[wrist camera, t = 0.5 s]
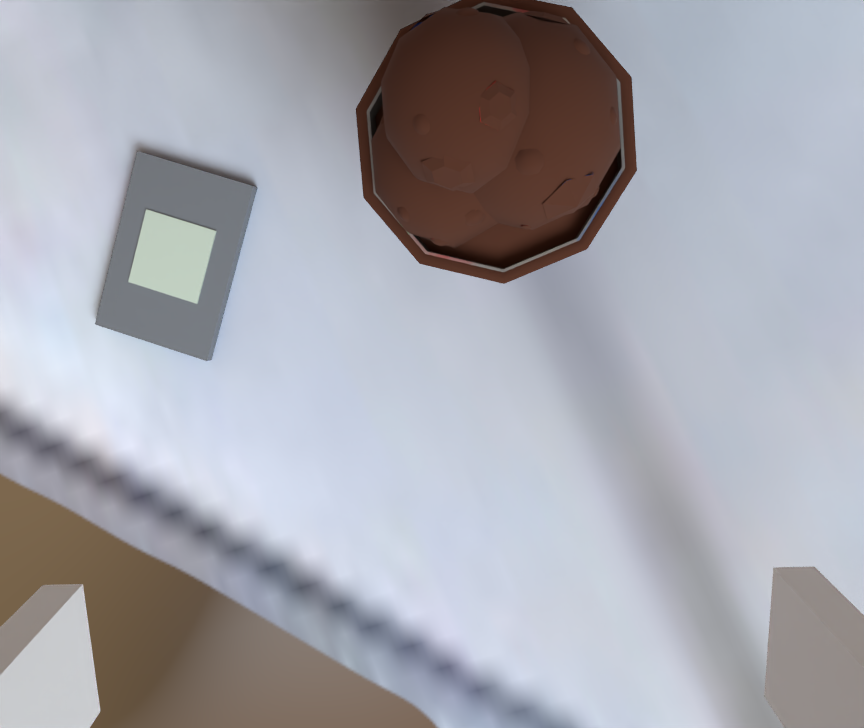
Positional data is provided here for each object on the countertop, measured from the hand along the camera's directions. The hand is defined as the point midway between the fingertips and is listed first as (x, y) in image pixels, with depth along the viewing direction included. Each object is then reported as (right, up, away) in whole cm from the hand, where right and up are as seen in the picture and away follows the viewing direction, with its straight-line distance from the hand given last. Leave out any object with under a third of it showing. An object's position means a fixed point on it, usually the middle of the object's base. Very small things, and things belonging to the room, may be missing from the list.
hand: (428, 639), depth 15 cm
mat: (-14, +11, +27) cm, 32 cm away
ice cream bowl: (+4, +15, +25) cm, 29 cm away
